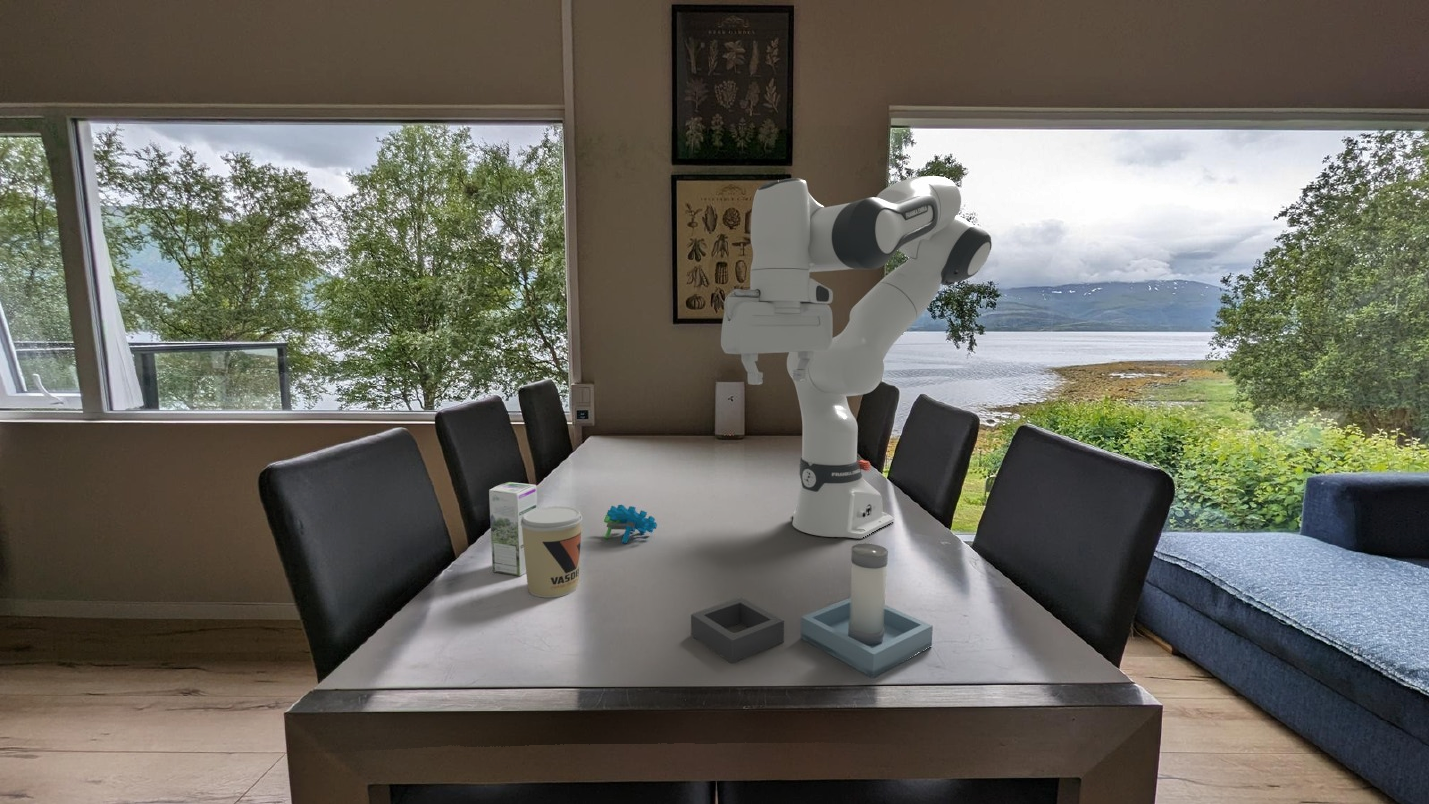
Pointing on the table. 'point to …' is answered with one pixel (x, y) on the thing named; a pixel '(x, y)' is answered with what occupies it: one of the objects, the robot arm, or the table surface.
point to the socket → (742, 644)
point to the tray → (832, 637)
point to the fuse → (867, 593)
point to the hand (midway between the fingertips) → (778, 382)
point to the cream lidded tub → (552, 550)
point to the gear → (628, 521)
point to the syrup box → (509, 525)
